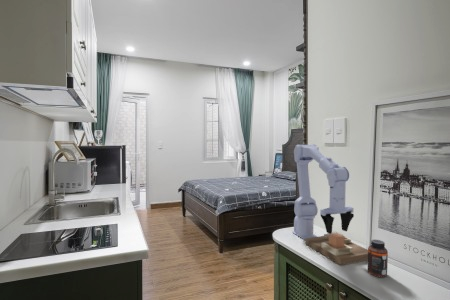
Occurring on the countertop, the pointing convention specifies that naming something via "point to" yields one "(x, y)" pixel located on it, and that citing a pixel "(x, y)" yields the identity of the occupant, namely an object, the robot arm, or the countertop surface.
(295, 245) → the countertop surface
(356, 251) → the wooden compartment tray
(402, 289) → the countertop surface
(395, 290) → the countertop surface
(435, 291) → the countertop surface
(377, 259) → the supplement bottle
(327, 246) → the collar
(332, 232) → the block
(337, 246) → the terracotta rectangular block
